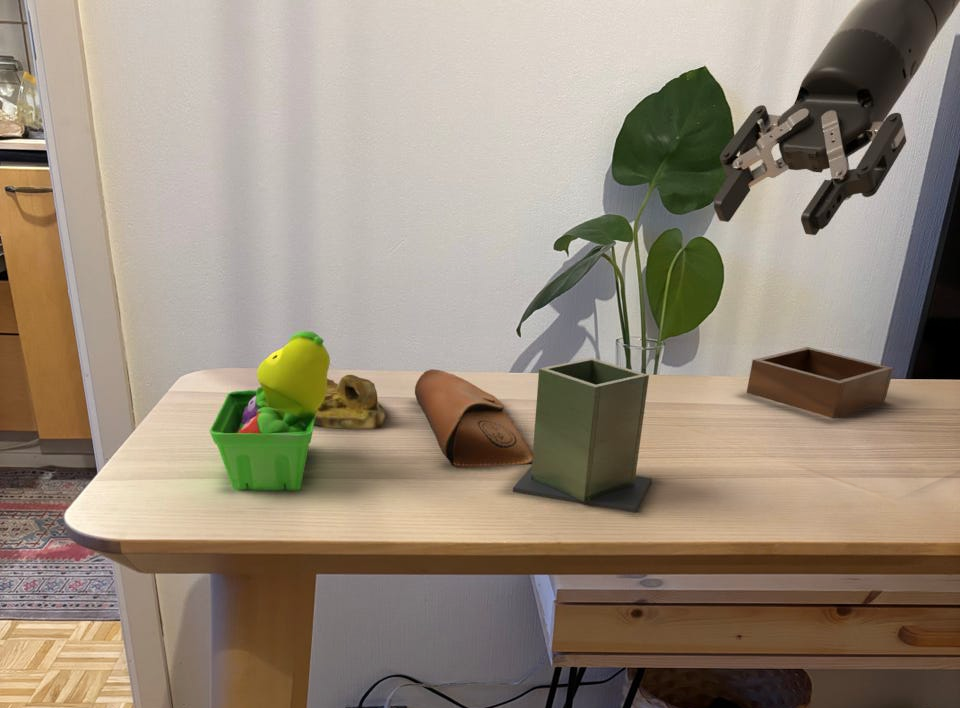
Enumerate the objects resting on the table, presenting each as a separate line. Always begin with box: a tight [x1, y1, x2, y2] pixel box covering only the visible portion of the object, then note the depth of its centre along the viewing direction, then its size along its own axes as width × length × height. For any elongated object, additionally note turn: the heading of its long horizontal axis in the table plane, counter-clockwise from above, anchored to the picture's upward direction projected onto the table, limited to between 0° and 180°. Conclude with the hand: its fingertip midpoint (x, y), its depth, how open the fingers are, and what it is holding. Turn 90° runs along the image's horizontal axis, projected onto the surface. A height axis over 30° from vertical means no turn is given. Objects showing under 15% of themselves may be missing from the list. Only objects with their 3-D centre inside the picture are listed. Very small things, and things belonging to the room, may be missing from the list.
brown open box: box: [746, 346, 895, 419], centre depth 101 cm, size 10×10×4 cm
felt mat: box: [512, 465, 653, 514], centre depth 78 cm, size 10×7×1 cm
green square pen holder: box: [531, 357, 650, 502], centre depth 76 cm, size 6×6×9 cm
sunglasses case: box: [414, 368, 533, 468], centre depth 88 cm, size 18×7×7 cm
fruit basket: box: [209, 330, 331, 491], centre depth 76 cm, size 11×9×11 cm
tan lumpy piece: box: [314, 374, 386, 430], centre depth 92 cm, size 9×5×15 cm
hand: (762, 220), depth 79 cm, fingers open, 8 cm apart
